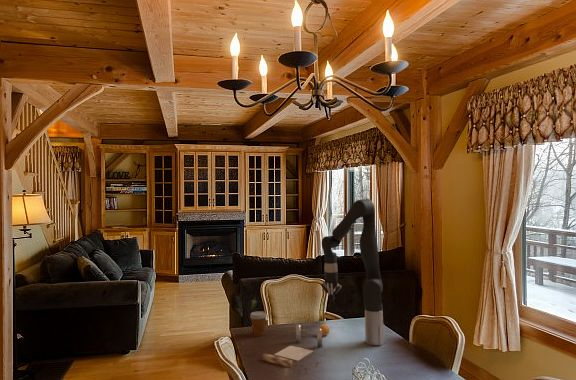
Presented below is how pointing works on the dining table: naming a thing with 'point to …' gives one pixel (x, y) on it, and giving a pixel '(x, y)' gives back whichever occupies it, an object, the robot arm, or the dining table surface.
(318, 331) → the near post
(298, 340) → the far post
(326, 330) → the ball
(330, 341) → the dining table surface
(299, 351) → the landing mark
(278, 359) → the stopper wall
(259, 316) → the disposable coffee cup
